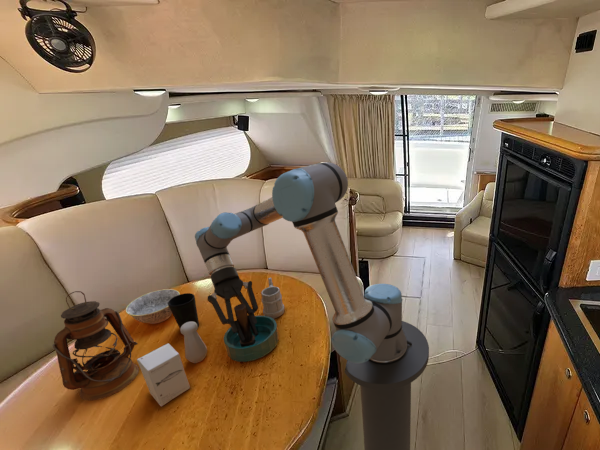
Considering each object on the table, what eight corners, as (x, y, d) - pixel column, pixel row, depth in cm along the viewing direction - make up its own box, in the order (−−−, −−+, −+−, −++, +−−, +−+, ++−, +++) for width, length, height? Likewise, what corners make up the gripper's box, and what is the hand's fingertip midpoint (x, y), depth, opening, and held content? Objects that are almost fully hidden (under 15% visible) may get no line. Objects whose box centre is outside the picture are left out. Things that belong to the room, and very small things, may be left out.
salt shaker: (196, 367, 94) (185, 333, 90) (182, 362, 96) (171, 328, 91) (213, 353, 99) (203, 320, 95) (199, 349, 101) (189, 316, 96)
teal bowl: (286, 329, 110) (283, 315, 108) (267, 364, 95) (264, 348, 93) (242, 329, 110) (239, 315, 108) (217, 363, 96) (213, 347, 94)
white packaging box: (160, 408, 82) (146, 371, 77) (150, 394, 86) (135, 358, 81) (191, 388, 87) (179, 353, 83) (179, 376, 91) (167, 341, 87)
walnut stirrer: (258, 338, 102) (250, 302, 97) (251, 348, 98) (243, 311, 93) (244, 338, 103) (236, 302, 98) (238, 347, 99) (228, 311, 93)
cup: (206, 325, 112) (198, 297, 108) (184, 338, 106) (174, 308, 102) (195, 318, 116) (187, 290, 112) (172, 330, 110) (163, 301, 105)
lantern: (126, 354, 99) (92, 272, 88) (156, 364, 96) (124, 279, 85) (59, 399, 84) (7, 306, 73) (90, 412, 81) (41, 317, 70)
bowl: (159, 334, 108) (153, 317, 105) (120, 330, 110) (113, 312, 107) (194, 307, 122) (190, 290, 120) (159, 303, 125) (154, 287, 122)
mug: (263, 321, 114) (257, 293, 110) (264, 303, 124) (259, 277, 120) (285, 316, 117) (280, 289, 112) (284, 299, 127) (280, 273, 123)
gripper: (247, 267, 109) (273, 328, 104) (194, 284, 99) (220, 353, 94) (249, 258, 104) (278, 323, 99) (193, 276, 93) (221, 349, 88)
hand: (249, 337), depth 96 cm, fingers closed on walnut stirrer, 3 cm apart
